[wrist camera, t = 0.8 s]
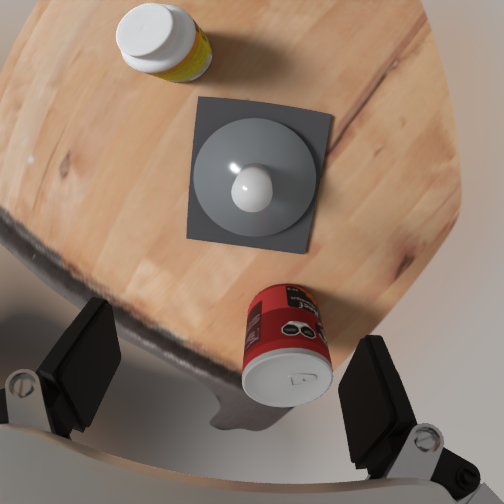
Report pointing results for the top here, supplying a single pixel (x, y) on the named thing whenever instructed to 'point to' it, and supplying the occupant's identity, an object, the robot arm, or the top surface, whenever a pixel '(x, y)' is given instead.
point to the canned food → (285, 348)
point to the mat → (229, 110)
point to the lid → (254, 177)
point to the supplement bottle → (164, 42)
